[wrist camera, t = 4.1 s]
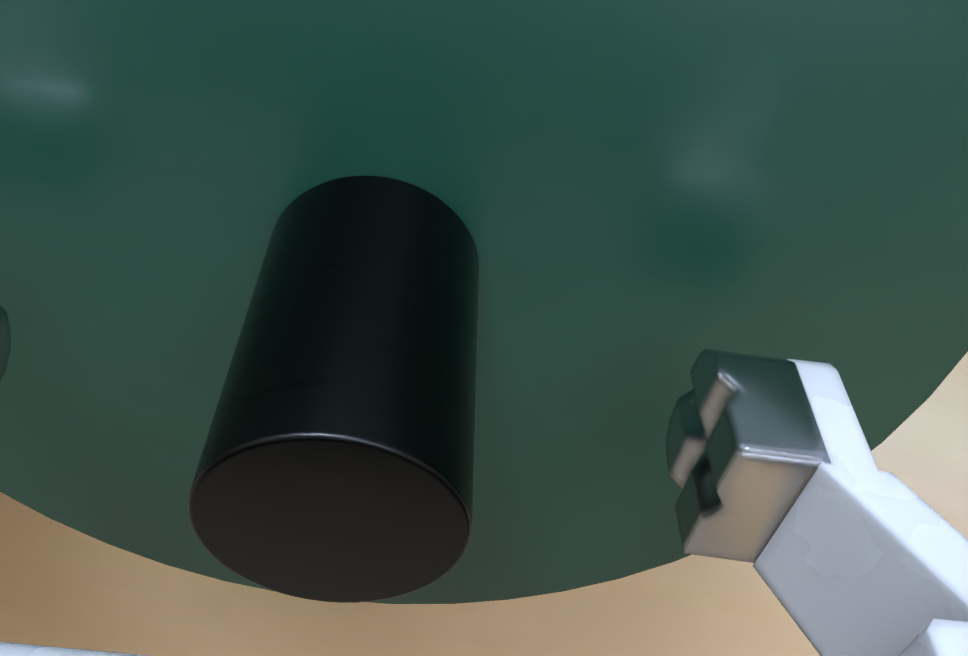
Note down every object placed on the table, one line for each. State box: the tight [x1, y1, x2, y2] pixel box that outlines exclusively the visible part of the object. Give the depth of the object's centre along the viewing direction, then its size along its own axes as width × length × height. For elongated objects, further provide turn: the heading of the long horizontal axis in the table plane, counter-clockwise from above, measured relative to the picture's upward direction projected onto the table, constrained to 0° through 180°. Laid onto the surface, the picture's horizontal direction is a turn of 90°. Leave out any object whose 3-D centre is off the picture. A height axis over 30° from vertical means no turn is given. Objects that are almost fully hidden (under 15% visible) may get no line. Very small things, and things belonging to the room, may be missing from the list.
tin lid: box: [0, 0, 968, 604], centre depth 10 cm, size 16×16×5 cm
